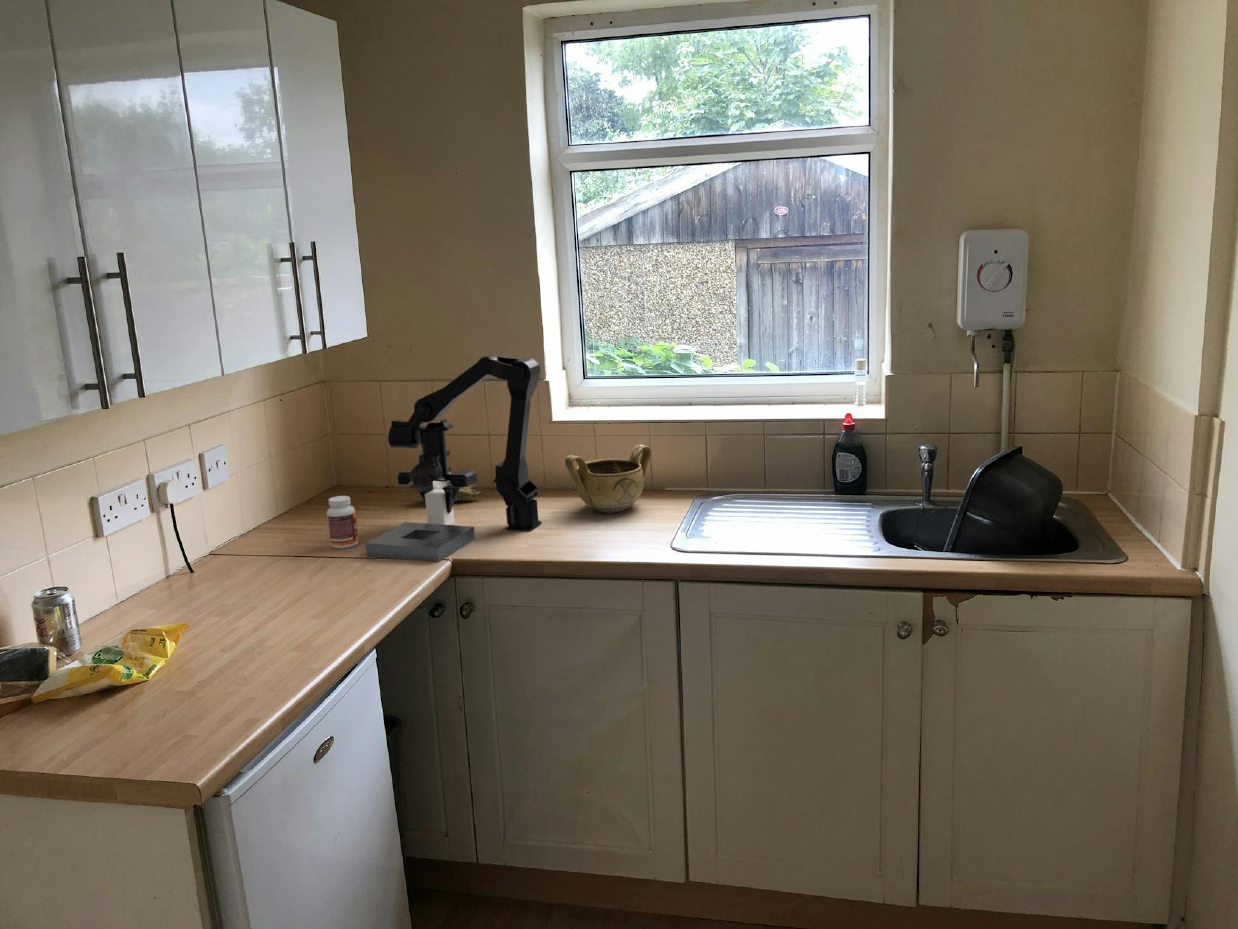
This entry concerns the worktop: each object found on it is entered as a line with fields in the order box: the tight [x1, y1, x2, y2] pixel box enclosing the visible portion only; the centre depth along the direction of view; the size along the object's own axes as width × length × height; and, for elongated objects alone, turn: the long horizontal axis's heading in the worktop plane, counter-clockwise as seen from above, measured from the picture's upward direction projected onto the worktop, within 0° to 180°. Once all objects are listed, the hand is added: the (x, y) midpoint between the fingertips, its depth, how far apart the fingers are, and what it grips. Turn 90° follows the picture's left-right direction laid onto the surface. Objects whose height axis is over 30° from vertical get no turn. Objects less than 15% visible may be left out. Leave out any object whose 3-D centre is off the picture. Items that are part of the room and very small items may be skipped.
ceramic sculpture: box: [433, 471, 484, 502], centre depth 259 cm, size 11×9×15 cm
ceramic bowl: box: [564, 443, 652, 514], centre depth 242 cm, size 22×17×15 cm
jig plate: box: [365, 521, 476, 563], centre depth 221 cm, size 18×16×3 cm
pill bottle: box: [326, 495, 359, 550], centre depth 225 cm, size 6×6×11 cm
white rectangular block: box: [424, 489, 455, 525], centre depth 237 cm, size 5×5×8 cm
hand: (440, 512), depth 238 cm, fingers closed on white rectangular block, 5 cm apart
